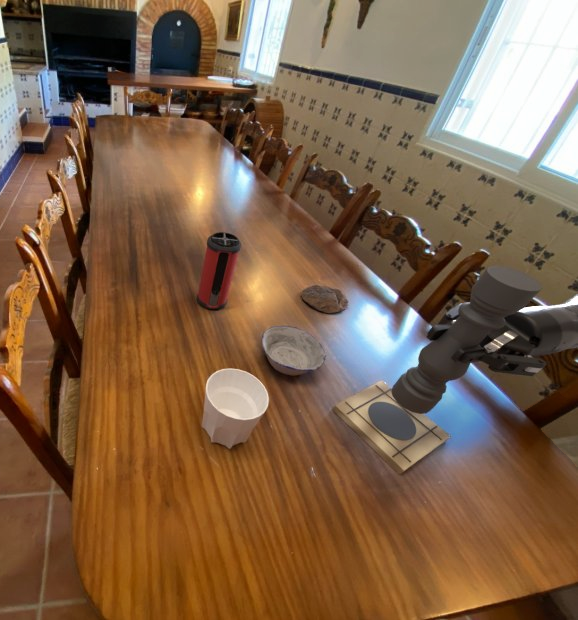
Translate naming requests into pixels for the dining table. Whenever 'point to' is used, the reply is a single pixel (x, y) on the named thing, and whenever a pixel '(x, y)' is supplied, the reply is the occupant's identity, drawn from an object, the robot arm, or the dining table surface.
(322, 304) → the rock
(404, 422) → the board
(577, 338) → the robot arm
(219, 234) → the speaker
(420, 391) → the candle holder
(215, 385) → the cup
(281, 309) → the dining table surface
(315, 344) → the bowl
